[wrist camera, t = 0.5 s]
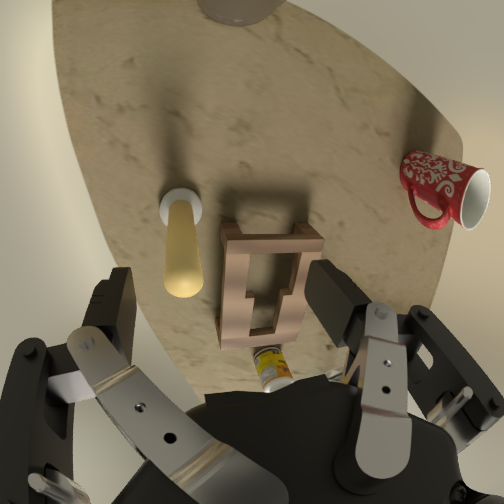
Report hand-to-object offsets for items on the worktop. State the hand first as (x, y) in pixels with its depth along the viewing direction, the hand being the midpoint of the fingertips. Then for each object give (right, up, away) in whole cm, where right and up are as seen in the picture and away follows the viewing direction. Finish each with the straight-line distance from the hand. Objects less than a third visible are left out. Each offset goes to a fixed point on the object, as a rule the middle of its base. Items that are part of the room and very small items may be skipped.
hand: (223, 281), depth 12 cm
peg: (-7, +7, +20) cm, 22 cm away
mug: (+26, +14, +26) cm, 39 cm away
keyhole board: (+2, -3, +28) cm, 28 cm away
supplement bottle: (+4, -18, +38) cm, 42 cm away
